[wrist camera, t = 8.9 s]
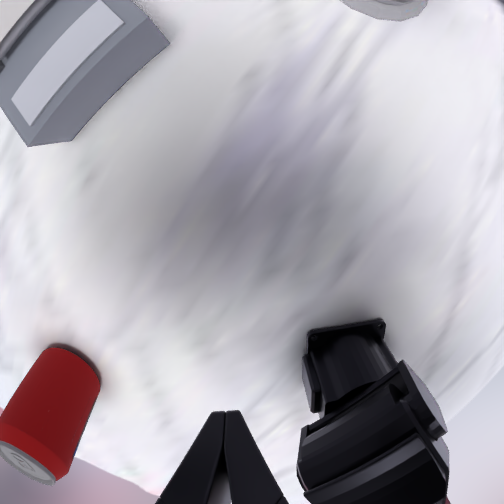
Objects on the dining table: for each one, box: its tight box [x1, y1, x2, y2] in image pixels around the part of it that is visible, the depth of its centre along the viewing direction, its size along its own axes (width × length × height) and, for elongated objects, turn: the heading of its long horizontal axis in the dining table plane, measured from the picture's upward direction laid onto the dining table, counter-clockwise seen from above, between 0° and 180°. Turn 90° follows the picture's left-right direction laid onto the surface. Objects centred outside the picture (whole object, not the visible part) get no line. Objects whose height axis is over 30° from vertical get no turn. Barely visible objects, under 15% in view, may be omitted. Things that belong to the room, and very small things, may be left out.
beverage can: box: [0, 348, 100, 486], centre depth 18 cm, size 7×7×12 cm
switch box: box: [0, 0, 170, 147], centre depth 12 cm, size 8×9×6 cm
